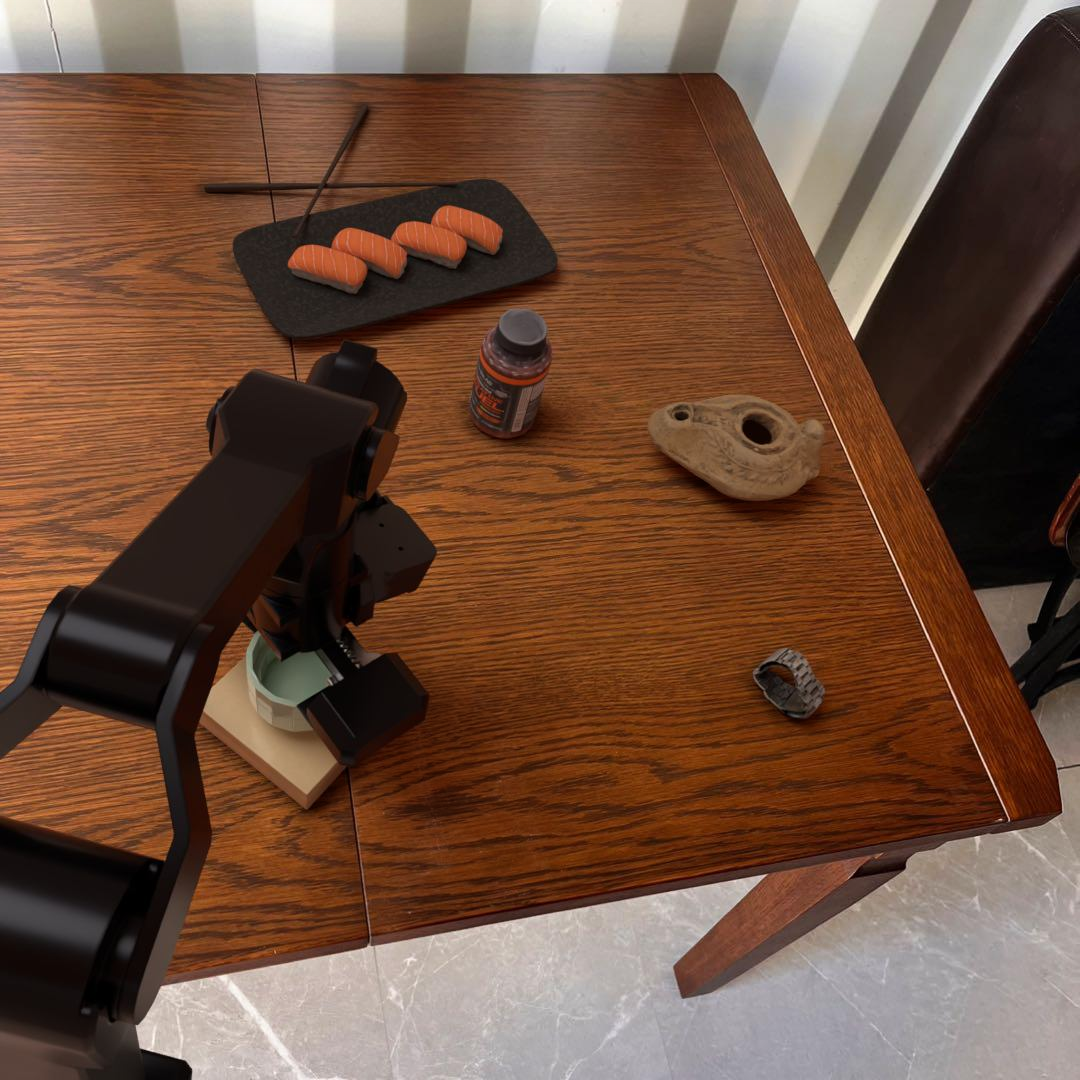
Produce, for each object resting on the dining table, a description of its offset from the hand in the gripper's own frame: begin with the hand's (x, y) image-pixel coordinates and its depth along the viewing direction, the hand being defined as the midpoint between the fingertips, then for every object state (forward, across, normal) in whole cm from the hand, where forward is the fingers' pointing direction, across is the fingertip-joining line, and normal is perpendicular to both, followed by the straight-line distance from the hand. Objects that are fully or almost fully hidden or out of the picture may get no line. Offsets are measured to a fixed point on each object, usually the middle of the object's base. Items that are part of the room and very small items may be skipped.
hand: (301, 678), depth 72 cm
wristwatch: (+6, -20, -31) cm, 37 cm away
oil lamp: (+6, -1, -43) cm, 43 cm away
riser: (+6, 0, 0) cm, 6 cm away
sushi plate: (+6, +41, -34) cm, 53 cm away
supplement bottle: (+6, +14, -29) cm, 33 cm away
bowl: (+2, 0, 0) cm, 2 cm away
